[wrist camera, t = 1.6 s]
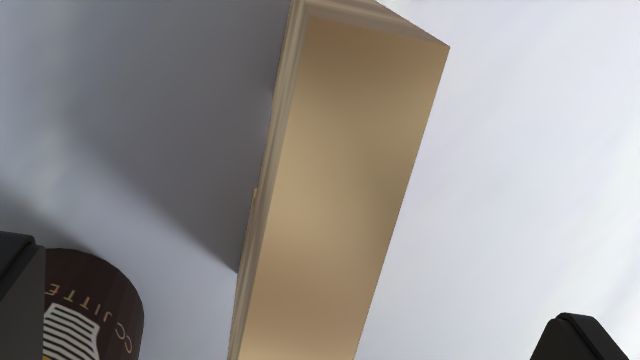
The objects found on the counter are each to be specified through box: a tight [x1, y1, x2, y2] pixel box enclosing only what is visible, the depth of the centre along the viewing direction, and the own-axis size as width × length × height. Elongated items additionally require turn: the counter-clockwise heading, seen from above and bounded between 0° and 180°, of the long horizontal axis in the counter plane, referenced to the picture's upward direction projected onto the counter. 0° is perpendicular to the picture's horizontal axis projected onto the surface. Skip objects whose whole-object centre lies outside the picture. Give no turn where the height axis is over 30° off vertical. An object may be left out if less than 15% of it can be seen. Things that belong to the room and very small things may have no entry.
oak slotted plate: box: [227, 0, 450, 360], centre depth 17 cm, size 12×3×10 cm, turn 167°
